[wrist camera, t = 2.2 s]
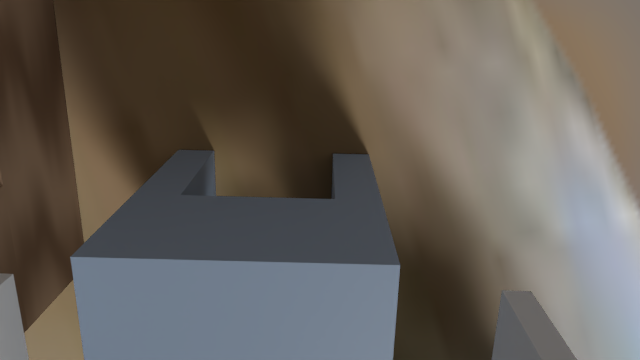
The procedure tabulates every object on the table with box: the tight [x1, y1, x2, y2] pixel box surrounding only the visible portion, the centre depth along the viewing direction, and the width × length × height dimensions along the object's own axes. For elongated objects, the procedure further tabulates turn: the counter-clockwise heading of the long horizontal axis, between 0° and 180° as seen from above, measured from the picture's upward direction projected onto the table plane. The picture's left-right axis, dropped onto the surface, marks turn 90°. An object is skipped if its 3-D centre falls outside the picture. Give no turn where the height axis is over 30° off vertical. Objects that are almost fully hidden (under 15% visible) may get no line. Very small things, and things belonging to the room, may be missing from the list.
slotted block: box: [70, 150, 400, 360], centre depth 18 cm, size 5×8×10 cm, turn 89°
